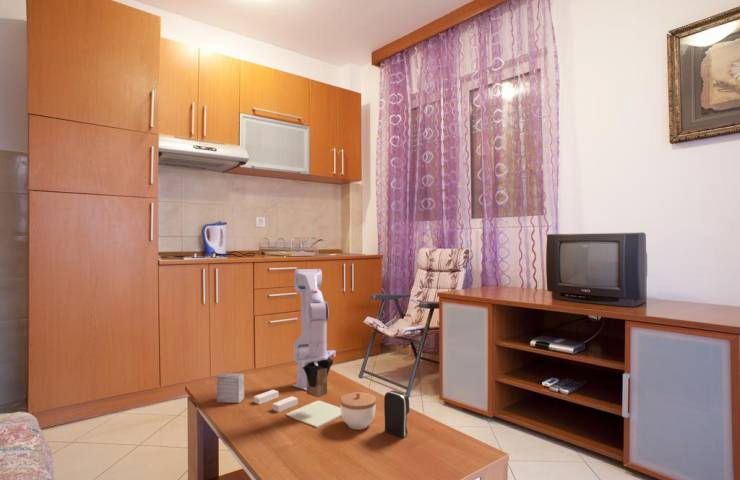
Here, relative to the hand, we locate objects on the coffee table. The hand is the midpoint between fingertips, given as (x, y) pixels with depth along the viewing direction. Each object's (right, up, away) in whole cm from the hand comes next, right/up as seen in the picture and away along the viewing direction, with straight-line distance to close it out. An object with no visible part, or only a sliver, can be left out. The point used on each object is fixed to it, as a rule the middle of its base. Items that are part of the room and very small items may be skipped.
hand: (317, 384), depth 128 cm
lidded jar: (+13, -9, -8) cm, 18 cm away
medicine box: (-31, -10, +11) cm, 34 cm away
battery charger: (+24, -9, -13) cm, 29 cm away
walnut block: (0, -3, 0) cm, 3 cm away
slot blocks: (-15, -9, +8) cm, 20 cm away
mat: (0, -9, 0) cm, 9 cm away
